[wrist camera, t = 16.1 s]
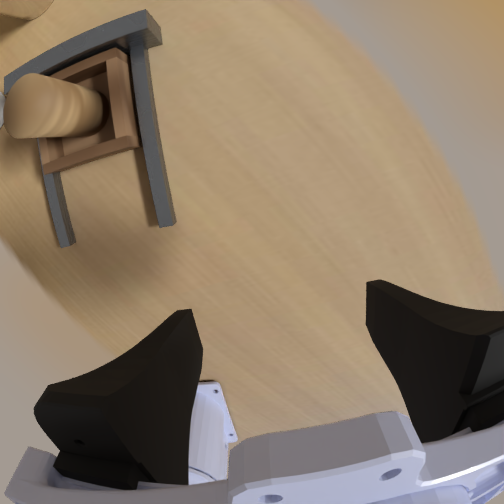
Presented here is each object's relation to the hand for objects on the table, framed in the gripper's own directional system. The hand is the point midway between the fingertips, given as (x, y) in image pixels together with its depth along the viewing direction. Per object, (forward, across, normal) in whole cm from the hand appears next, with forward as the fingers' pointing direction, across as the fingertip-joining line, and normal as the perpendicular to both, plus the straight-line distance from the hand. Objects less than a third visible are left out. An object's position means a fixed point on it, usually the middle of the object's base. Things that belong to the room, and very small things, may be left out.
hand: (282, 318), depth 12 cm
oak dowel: (+10, +11, -12) cm, 19 cm away
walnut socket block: (+10, +11, -12) cm, 19 cm away
